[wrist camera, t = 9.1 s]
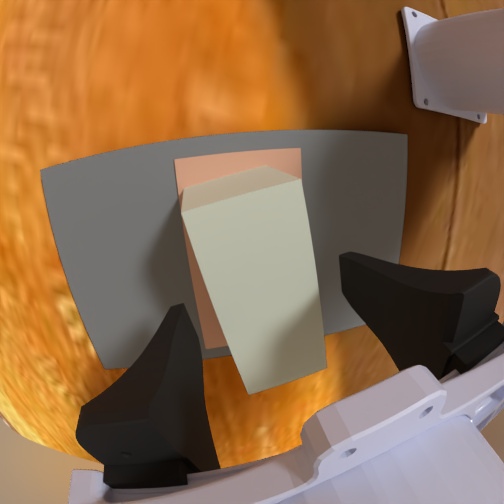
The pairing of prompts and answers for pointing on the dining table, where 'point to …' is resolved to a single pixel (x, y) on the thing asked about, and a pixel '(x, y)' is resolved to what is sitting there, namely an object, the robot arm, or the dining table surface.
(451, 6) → the dining table surface
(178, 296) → the mat
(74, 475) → the robot arm
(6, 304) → the dining table surface
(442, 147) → the dining table surface
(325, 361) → the block
